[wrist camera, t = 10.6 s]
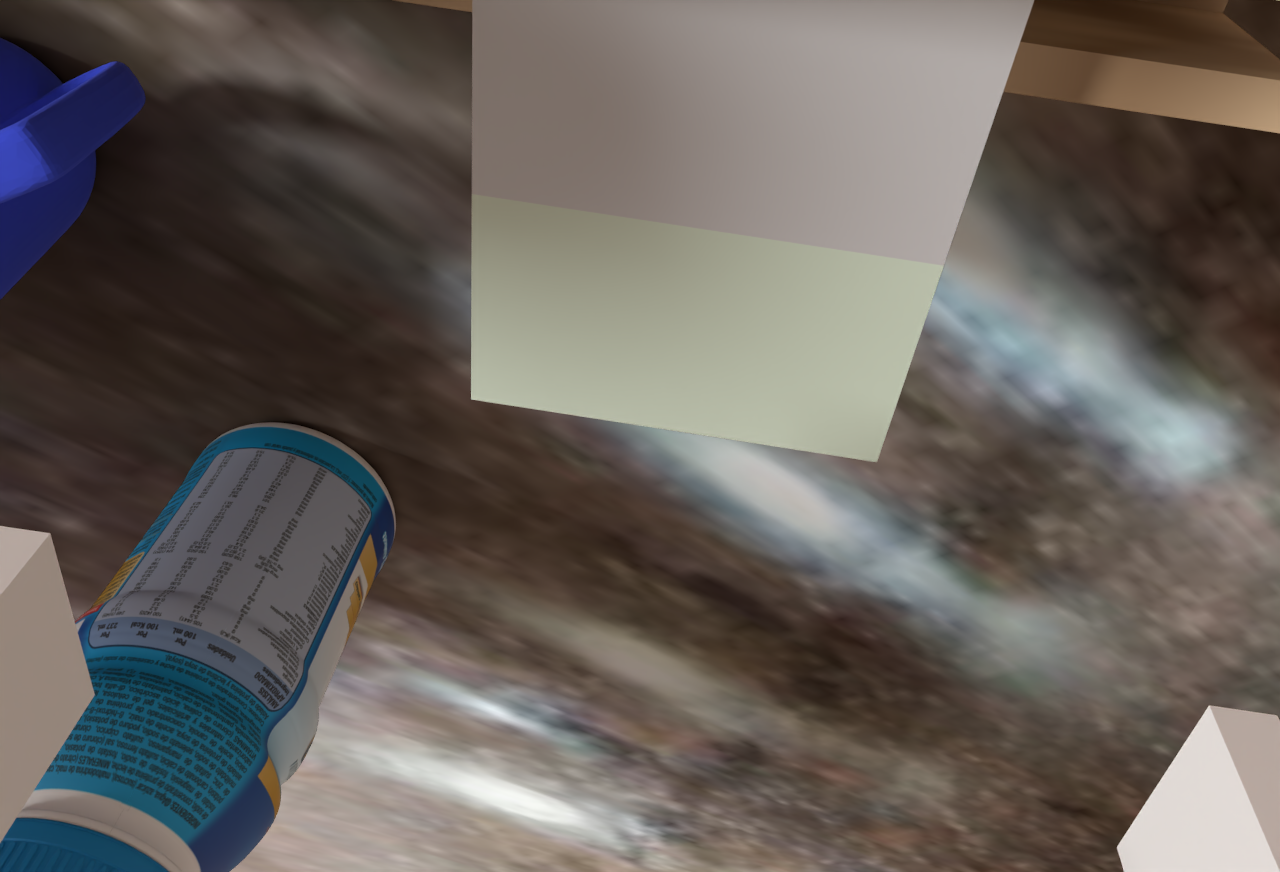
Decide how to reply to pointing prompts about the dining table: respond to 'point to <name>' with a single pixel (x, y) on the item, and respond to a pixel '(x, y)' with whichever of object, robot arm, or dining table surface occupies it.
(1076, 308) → the dining table surface
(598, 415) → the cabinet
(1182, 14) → the wall board
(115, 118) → the mug
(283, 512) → the beverage bottle
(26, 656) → the robot arm
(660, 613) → the dining table surface
